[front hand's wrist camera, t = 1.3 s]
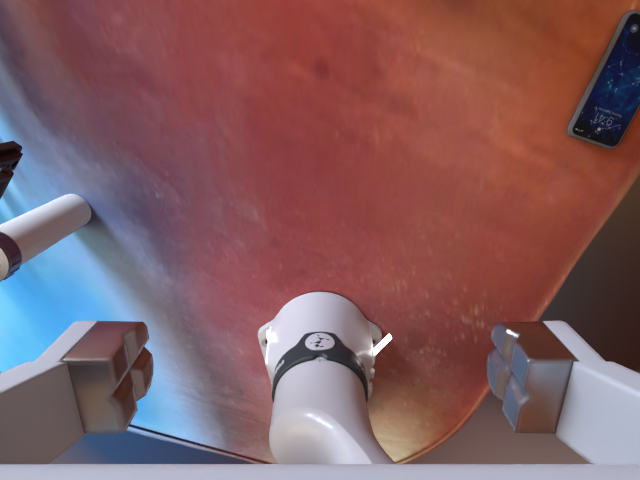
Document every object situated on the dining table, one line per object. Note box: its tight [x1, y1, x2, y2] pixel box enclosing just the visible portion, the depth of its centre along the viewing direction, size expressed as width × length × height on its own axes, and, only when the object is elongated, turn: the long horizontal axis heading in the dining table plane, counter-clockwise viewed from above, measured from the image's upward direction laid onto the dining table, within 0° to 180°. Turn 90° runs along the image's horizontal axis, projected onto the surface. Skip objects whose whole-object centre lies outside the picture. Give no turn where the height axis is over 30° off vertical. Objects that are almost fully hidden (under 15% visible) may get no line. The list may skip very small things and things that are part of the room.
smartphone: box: [567, 10, 640, 149], centre depth 53 cm, size 7×1×15 cm
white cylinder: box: [0, 194, 91, 265], centre depth 51 cm, size 5×5×17 cm
